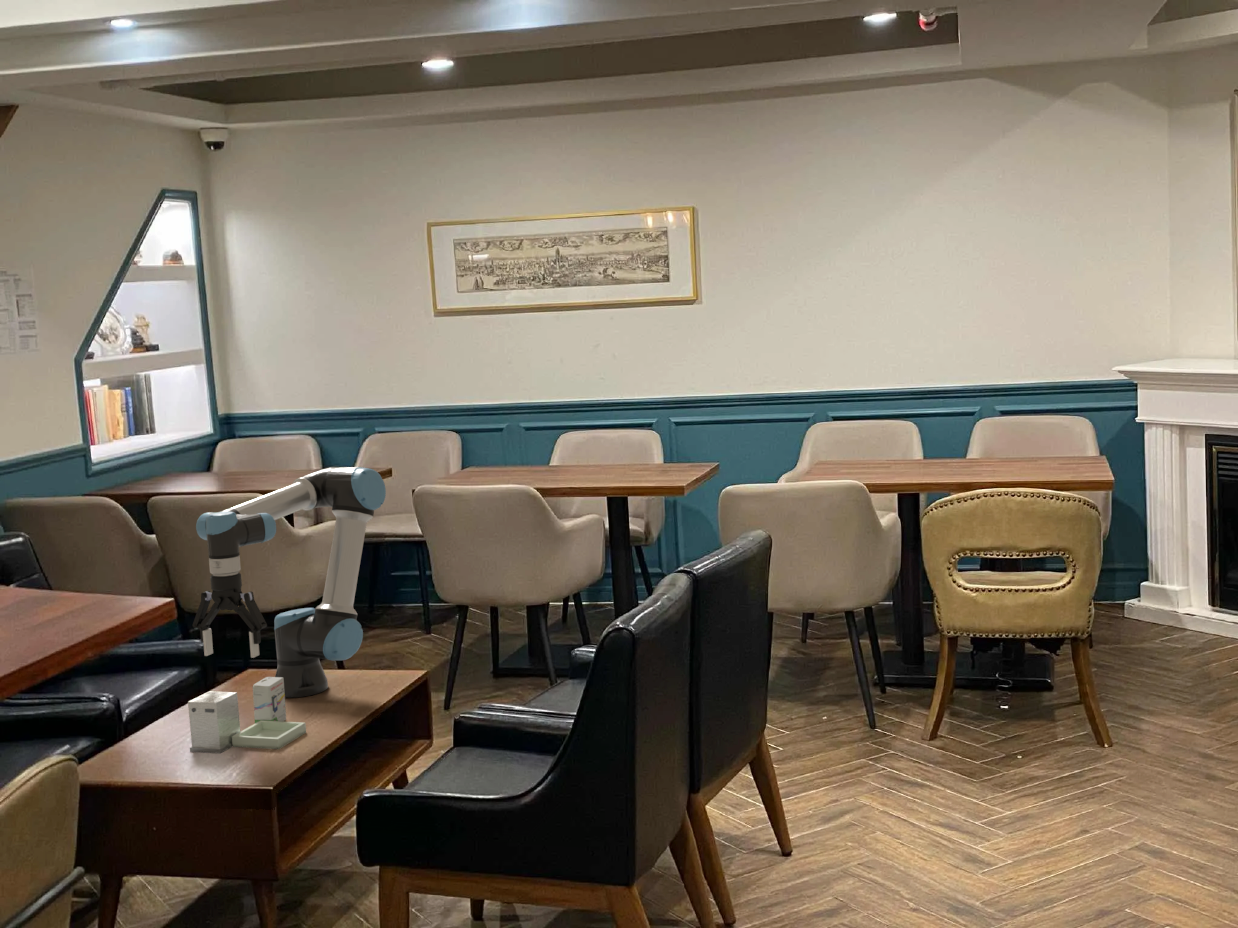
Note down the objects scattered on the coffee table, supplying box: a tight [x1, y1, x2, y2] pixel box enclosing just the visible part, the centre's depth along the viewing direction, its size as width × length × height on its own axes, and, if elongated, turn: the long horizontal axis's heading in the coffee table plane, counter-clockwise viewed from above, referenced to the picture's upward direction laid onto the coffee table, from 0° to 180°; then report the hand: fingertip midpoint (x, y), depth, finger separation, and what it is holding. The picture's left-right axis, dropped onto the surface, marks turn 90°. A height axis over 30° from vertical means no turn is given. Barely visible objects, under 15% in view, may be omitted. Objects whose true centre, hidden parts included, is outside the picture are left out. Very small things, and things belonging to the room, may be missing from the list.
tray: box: [232, 720, 307, 750], centre depth 330 cm, size 13×13×3 cm
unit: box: [187, 690, 241, 754], centre depth 326 cm, size 10×9×12 cm
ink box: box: [252, 676, 287, 724], centre depth 342 cm, size 9×5×12 cm, turn 168°
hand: (231, 655), depth 335 cm, fingers open, 13 cm apart
